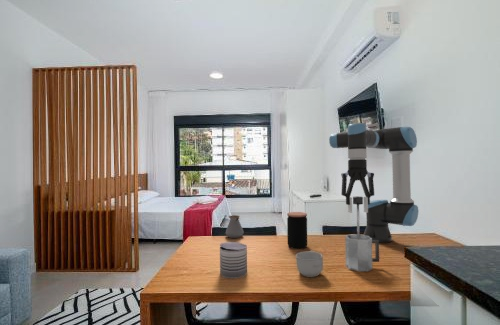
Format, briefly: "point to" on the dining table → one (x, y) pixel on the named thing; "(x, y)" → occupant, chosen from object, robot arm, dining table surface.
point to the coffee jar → (297, 230)
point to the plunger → (358, 201)
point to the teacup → (309, 263)
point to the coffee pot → (234, 227)
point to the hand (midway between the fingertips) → (358, 212)
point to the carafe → (360, 252)
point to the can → (233, 260)
